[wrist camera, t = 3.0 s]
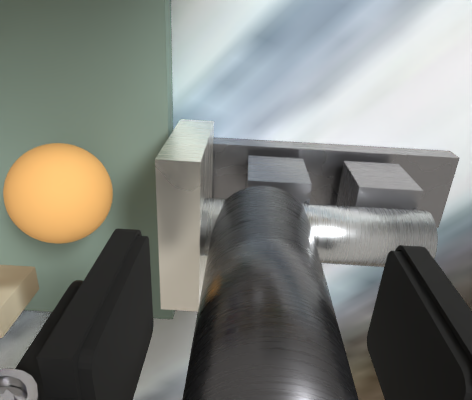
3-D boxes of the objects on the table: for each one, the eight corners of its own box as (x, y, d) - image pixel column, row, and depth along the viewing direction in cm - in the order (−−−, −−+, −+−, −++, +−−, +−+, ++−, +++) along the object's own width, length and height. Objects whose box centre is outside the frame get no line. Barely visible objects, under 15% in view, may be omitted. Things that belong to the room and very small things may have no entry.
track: (450, 151, 16) (459, 158, 15) (430, 218, 17) (438, 227, 16) (175, 135, 16) (172, 141, 15) (176, 203, 17) (173, 211, 17)
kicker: (405, 132, 14) (778, 434, 4) (377, 251, 16) (579, 640, 6) (180, 119, 14) (12, 384, 4) (181, 239, 17) (72, 606, 6)
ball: (121, 133, 15) (86, 167, 12) (127, 216, 17) (98, 266, 13) (27, 128, 15) (-33, 160, 12) (42, 211, 17) (-8, 260, 13)
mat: (170, -24, 14) (164, -26, 13) (176, 305, 20) (172, 319, 19) (-154, -42, 14) (-182, -45, 13) (-49, 291, 20) (-63, 304, 19)
